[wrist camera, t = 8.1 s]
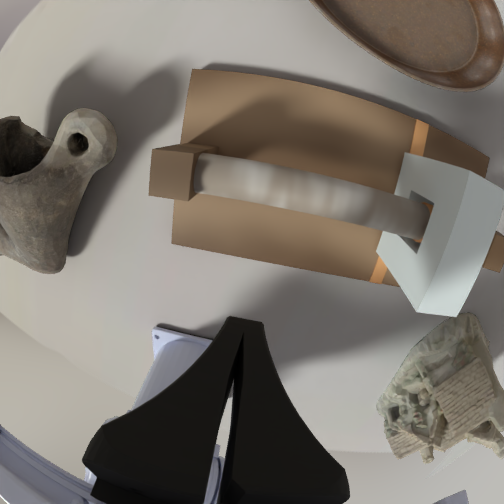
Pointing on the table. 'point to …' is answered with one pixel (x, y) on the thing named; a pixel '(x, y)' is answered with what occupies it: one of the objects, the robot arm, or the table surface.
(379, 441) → the table surface
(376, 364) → the table surface
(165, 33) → the table surface
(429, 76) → the plant saucer
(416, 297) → the collar
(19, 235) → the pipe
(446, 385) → the ceramic cottage
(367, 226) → the rod stand
